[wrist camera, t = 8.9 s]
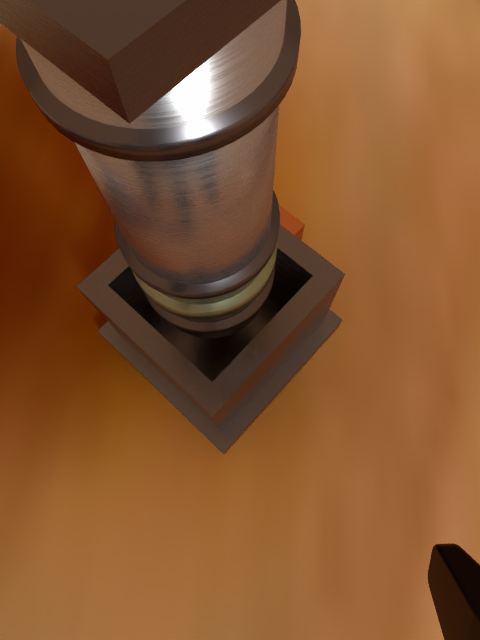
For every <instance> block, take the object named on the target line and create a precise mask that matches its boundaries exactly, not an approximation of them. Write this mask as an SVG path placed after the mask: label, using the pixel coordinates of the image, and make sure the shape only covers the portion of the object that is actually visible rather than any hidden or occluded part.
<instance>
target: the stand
mask: <svg viewBox="0 0 480 640" xmlns="http://www.w3.org/2000/svg"><path fill="white" fill-rule="evenodd" d="M279 211H280V227H279V235H278V241H277V254H276V262H275V273H274V280H273V286H272V289H271V292H270V294H269V297H268V299H267V300H266V302H265V304H264V305H263V307H262V308H261V309H260V311H259V312H258V314H257V315H256V317H255V318H254V319H253V320H252V321H251V322H250V323H249V324H248V325H247V326H246V327H244V328H243V329H241V330H240V331H238V332H236V333H234V334H231V335H229V336H225V337H221V338H213V339H211V338H199V337H195V336H191V335H189V334H186V333H184V332H183V331H181V330H179V329H178V328H176V327H174V326H173V325H171V324H169V323H168V322H166V321H165V320H164V319H163V318H161V317H160V316H159V315H158V313H157V312H156V311H155V310H154V309H153V307H152V306H151V304H150V303H149V301H148V299H147V297H146V295H145V293H144V291H143V290H142V288H141V287H140V285H139V283H138V281H137V280H136V278H135V276H134V274H133V272H132V270H131V268H130V267H129V265H128V264H127V262H126V260H125V259H124V257H123V255H122V253H121V251H120V249H118V250H117V251H115V252H114V253H113V254H112V255H111V256H110V257H109V258H108V259H107V260H105V261H104V262H103V263H102V264H101V265H100V266H99V267H98V268H96V269H95V270H94V271H93V272H92V273H91V274H90V275H89V276H88V277H86V278H85V279H84V280H83V281H82V282H81V283H80V284H79V285H78V286H76V287H77V288H78V289H79V290H80V291H81V292H82V294H83V295H84V296H85V297H86V298H87V299H88V300H89V301H90V303H91V304H92V305H93V306H94V307H95V308H96V309H97V310H98V311H99V313H100V314H101V315H102V316H103V317H104V318H105V319H106V320H107V322H106V323H105V324H104V325H103V326H102V327H101V328H100V329H99V330H98V332H99V333H100V334H101V335H102V336H103V337H104V338H105V339H106V340H107V341H108V342H109V343H110V344H111V345H112V346H113V347H114V348H115V349H116V350H117V351H118V352H119V353H120V354H121V355H122V356H123V357H124V358H125V359H126V360H127V361H128V362H129V363H130V364H132V365H133V366H134V367H135V368H136V369H137V370H138V371H139V372H140V373H141V374H142V375H143V376H144V377H145V378H146V379H147V380H148V381H149V382H150V383H151V384H152V385H153V386H154V387H155V388H156V389H157V390H158V391H159V392H160V393H161V394H162V395H163V396H164V397H166V398H167V399H168V400H169V401H170V402H171V403H172V404H173V405H174V406H175V407H176V408H177V409H178V410H179V411H180V412H181V413H182V414H183V415H184V416H185V417H186V418H187V419H188V420H189V421H190V422H191V423H192V424H193V425H194V426H195V427H196V428H197V429H198V430H199V431H201V432H202V433H203V434H204V435H205V436H206V437H207V438H208V439H209V440H210V441H211V442H212V443H213V444H214V445H215V446H216V447H217V448H218V449H219V450H220V451H221V452H222V453H223V454H225V453H226V452H227V451H228V450H229V448H230V447H231V446H232V445H233V444H234V443H235V442H236V441H237V440H238V438H239V437H240V436H241V435H242V434H243V433H244V432H245V431H246V430H247V428H248V427H249V426H250V425H251V424H252V423H253V422H254V421H255V419H256V418H257V417H258V416H259V415H260V414H261V413H262V412H263V411H264V409H265V408H266V407H267V406H268V405H269V404H270V403H271V402H272V401H273V399H274V398H275V397H276V396H277V395H278V394H279V393H280V392H281V390H282V389H283V388H284V387H285V386H286V385H287V384H288V383H289V382H290V380H291V379H292V378H293V377H294V376H295V375H296V374H297V373H298V371H299V370H300V369H301V368H302V367H303V366H304V365H305V364H306V363H307V361H308V360H309V359H310V358H311V357H312V356H313V355H314V354H315V353H316V351H317V350H318V349H319V348H320V347H321V346H322V345H323V344H324V342H325V341H326V340H327V339H328V338H329V337H330V336H331V335H332V334H333V332H334V331H335V330H336V329H337V328H338V327H339V325H340V323H341V322H342V319H341V318H339V317H338V316H337V315H336V314H334V313H333V312H332V311H331V310H329V308H330V306H331V304H332V302H333V299H334V297H335V295H336V293H337V291H338V288H339V286H340V284H341V282H342V279H343V277H344V275H345V274H344V273H343V272H341V271H340V270H339V269H337V268H336V267H335V266H334V265H332V264H331V263H330V262H328V261H327V260H326V259H325V258H323V257H322V256H321V255H319V254H318V253H317V252H315V251H314V250H313V249H312V248H310V247H309V246H308V245H306V244H305V243H304V242H302V241H301V240H302V235H303V230H304V224H303V223H302V222H301V221H299V220H298V219H297V218H295V217H294V216H293V215H291V214H290V213H289V212H287V211H286V210H285V209H283V208H282V207H281V206H279Z"/></svg>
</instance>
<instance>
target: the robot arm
mask: <svg viewBox="0 0 480 640" xmlns="http://www.w3.org/2000/svg"><path fill="white" fill-rule="evenodd" d="M428 583H429V588H430V591H431V595H432V598H433V602H434V605H435V609H436V612H437V616H438V619H439V623H440V626H441V629H442V633H443V636H444V640H480V565H479V564H478V563H477V562H476V561H475V560H474V559H473V558H472V557H471V556H470V555H469V554H467V553H466V552H465V551H464V550H463V549H462V548H461V547H460V546H458V545H456V544H436V545H435V546H434V547H433V549H432V554H431V559H430V564H429V570H428Z"/></svg>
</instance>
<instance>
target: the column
mask: <svg viewBox="0 0 480 640" xmlns="http://www.w3.org/2000/svg"><path fill="white" fill-rule="evenodd" d="M0 23H1V24H3V25H4V26H5V27H6V28H8V29H9V30H10V31H12V32H13V33H14V34H15V35H17V41H16V55H17V63H18V67H19V70H20V74H21V76H22V78H23V80H24V82H25V84H26V86H27V88H28V90H29V92H30V94H31V95H32V97H33V99H34V101H35V103H36V104H37V106H38V108H39V109H40V111H41V112H42V114H43V115H44V116H45V118H46V119H47V120H48V121H49V122H50V123H51V124H52V125H53V126H54V127H55V128H56V129H57V130H58V131H59V132H60V133H62V134H63V135H64V136H66V137H67V138H69V139H70V140H71V141H73V142H75V144H76V146H77V148H78V150H79V152H80V154H81V156H82V158H83V160H84V161H85V163H86V165H87V167H88V169H89V171H90V173H91V175H92V177H93V179H94V181H95V183H96V184H97V186H98V188H99V190H100V192H101V194H102V196H103V198H104V200H105V202H106V204H107V206H108V207H109V209H110V211H111V213H112V215H113V217H114V219H115V234H116V240H117V243H118V246H119V249H120V251H121V253H122V255H123V257H124V259H125V260H126V262H127V264H128V265H129V267H130V268H131V270H132V272H133V274H134V276H135V278H136V280H137V281H138V283H139V285H140V287H141V288H142V290H143V291H144V293H145V295H146V297H147V299H148V301H149V303H150V304H151V306H152V307H153V309H154V310H155V311H156V312H157V313H158V315H159V316H160V317H161V318H163V319H164V320H165V321H166V322H168V323H169V324H171V325H173V326H174V327H176V328H178V329H179V330H181V331H183V332H184V333H186V334H189V335H191V336H195V337H199V338H211V339H213V338H221V337H225V336H229V335H231V334H234V333H236V332H238V331H240V330H241V329H243V328H244V327H246V326H247V325H248V324H249V323H250V322H251V321H252V320H253V319H254V318H255V317H256V315H257V314H258V312H259V311H260V309H261V308H262V307H263V305H264V304H265V302H266V300H267V299H268V297H269V294H270V292H271V289H272V286H273V280H274V273H275V262H276V254H277V241H278V235H279V227H280V211H279V204H278V201H277V198H276V195H275V193H274V191H273V184H274V171H275V157H276V144H277V130H278V117H279V104H280V103H281V101H282V100H283V99H284V97H285V95H286V94H287V92H288V90H289V88H290V86H291V84H292V81H293V78H294V75H295V72H296V68H297V61H298V54H299V45H300V36H301V26H300V16H299V11H298V7H297V4H296V2H295V0H0Z"/></svg>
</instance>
